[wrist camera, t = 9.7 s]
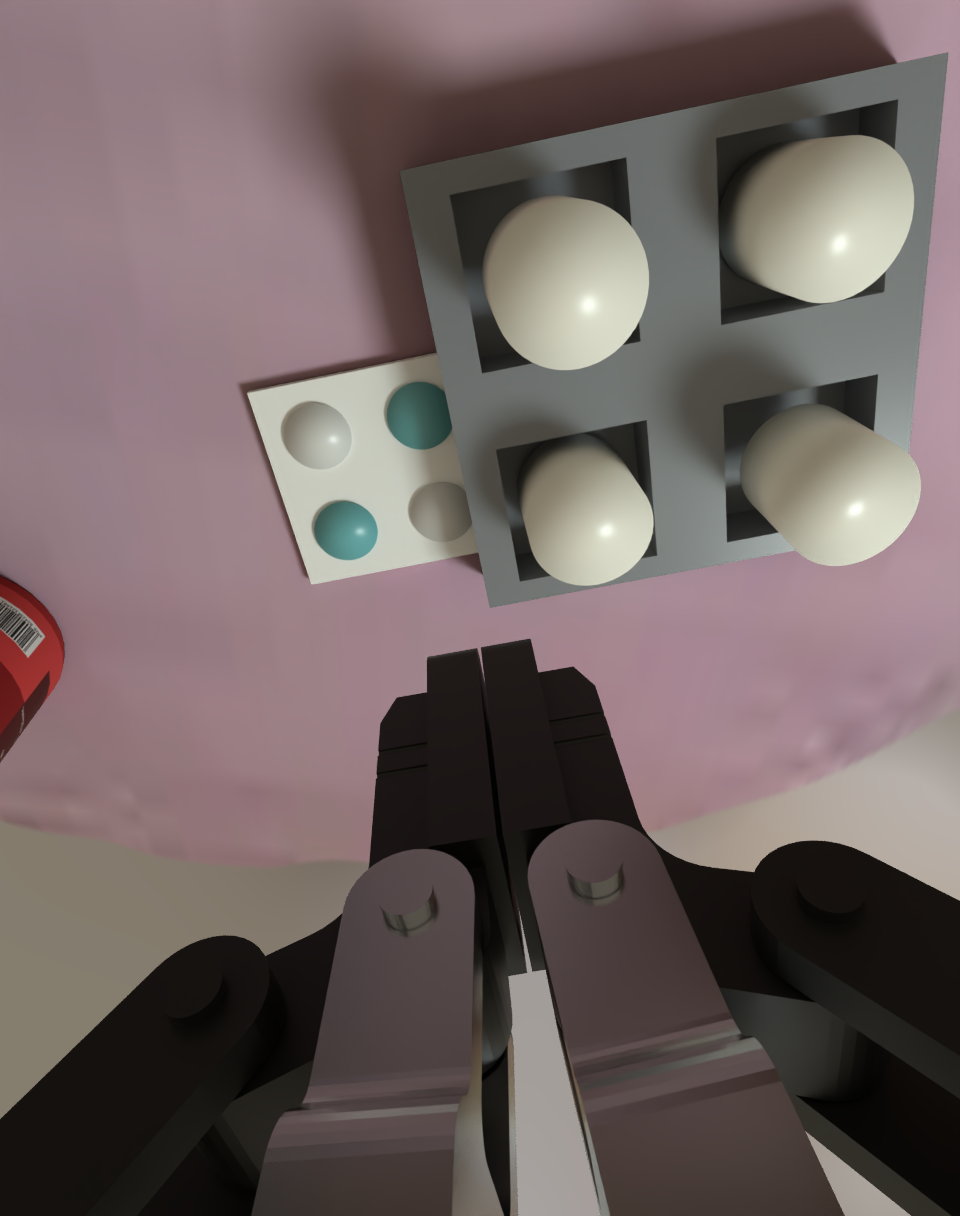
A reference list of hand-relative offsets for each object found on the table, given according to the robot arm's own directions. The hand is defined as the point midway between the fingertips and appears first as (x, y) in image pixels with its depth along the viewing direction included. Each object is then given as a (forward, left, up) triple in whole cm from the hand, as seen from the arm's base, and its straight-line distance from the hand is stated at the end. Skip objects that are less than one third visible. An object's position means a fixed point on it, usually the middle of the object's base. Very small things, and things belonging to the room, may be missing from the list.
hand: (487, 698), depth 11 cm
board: (+9, -2, -23) cm, 25 cm away
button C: (+4, -6, -22) cm, 23 cm away
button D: (+13, -6, -20) cm, 25 cm away
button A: (+4, +3, -20) cm, 21 cm away
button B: (+13, +3, -22) cm, 26 cm away
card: (-4, -4, -23) cm, 24 cm away
